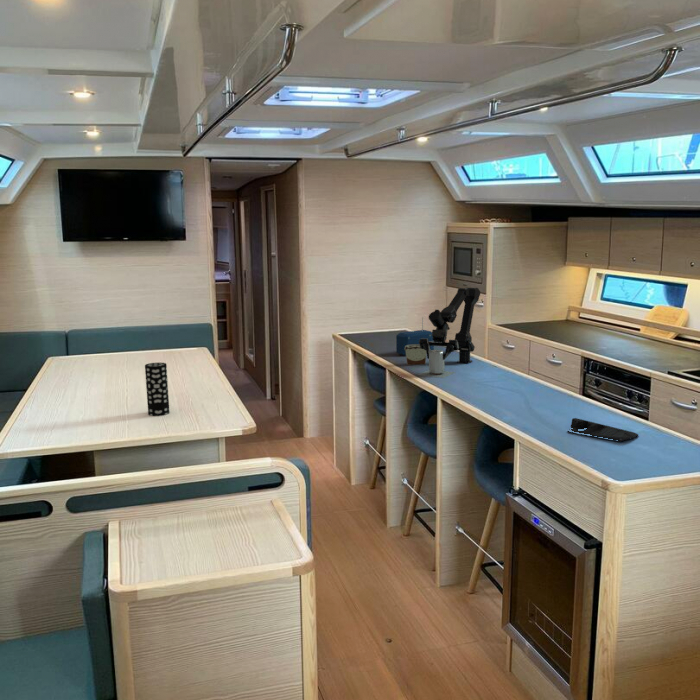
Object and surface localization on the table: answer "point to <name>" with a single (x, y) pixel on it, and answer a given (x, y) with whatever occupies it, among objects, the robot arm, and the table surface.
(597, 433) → the black knife blade
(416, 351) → the food container
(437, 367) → the steel cup
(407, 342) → the radio
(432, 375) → the grey mat
